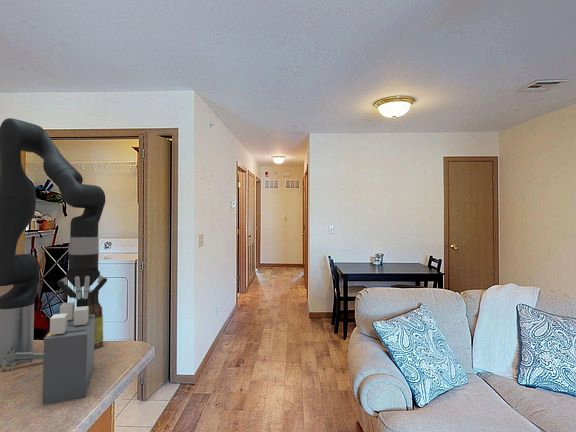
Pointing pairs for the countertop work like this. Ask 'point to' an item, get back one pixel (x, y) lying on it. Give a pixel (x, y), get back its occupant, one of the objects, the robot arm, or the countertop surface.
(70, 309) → the tab back
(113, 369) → the countertop surface
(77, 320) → the tab middle
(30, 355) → the caliper
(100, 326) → the sauce bottle
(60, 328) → the tab front
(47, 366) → the switch box
